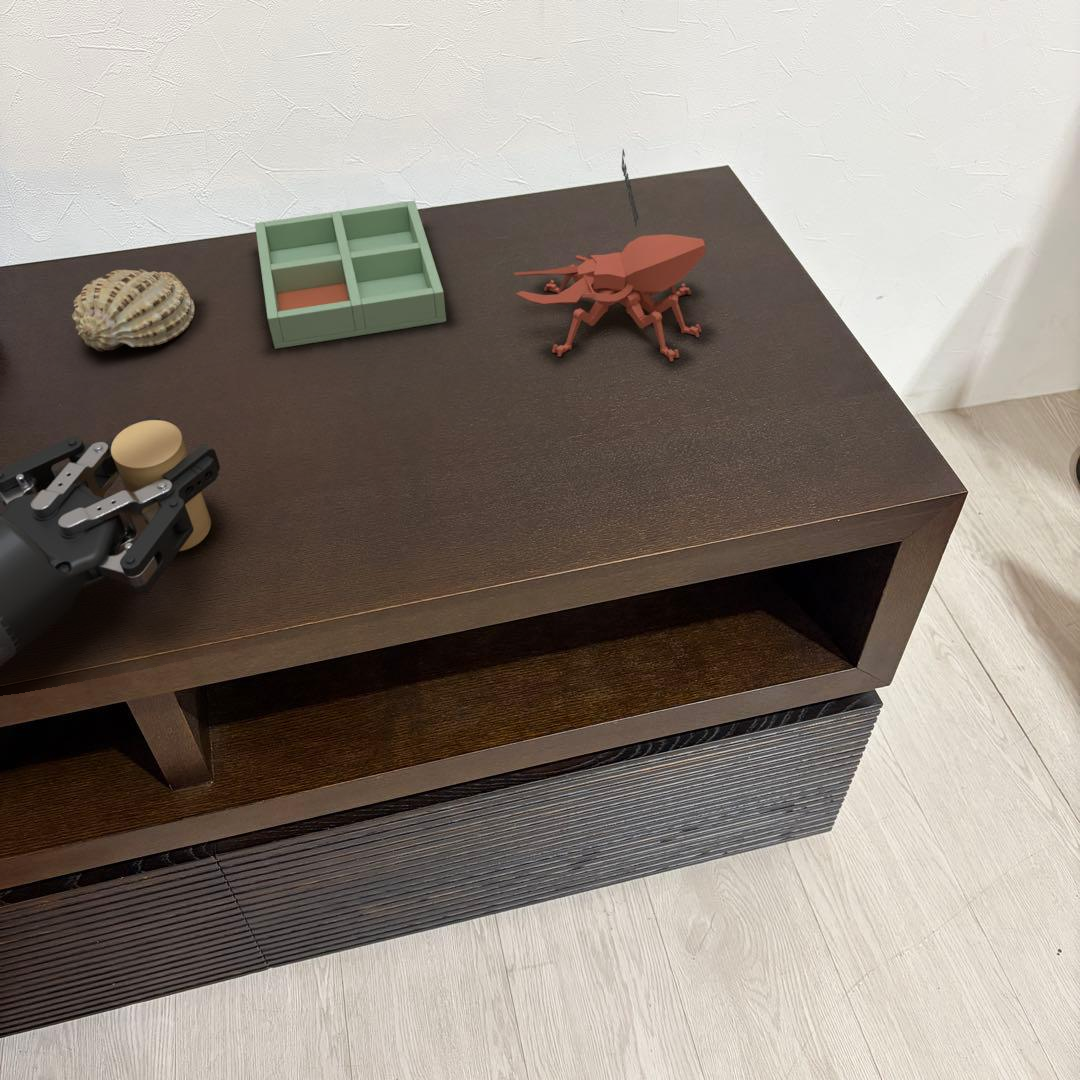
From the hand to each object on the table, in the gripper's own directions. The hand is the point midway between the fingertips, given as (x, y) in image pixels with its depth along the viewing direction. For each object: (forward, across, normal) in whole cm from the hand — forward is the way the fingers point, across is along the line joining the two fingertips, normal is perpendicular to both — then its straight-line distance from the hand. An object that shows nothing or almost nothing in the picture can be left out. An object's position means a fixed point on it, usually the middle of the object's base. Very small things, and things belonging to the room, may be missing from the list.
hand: (185, 441), depth 72 cm
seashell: (+11, +19, +6) cm, 23 cm away
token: (-3, 0, +6) cm, 7 cm away
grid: (+25, +9, +6) cm, 27 cm away
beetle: (+34, -12, +6) cm, 36 cm away
